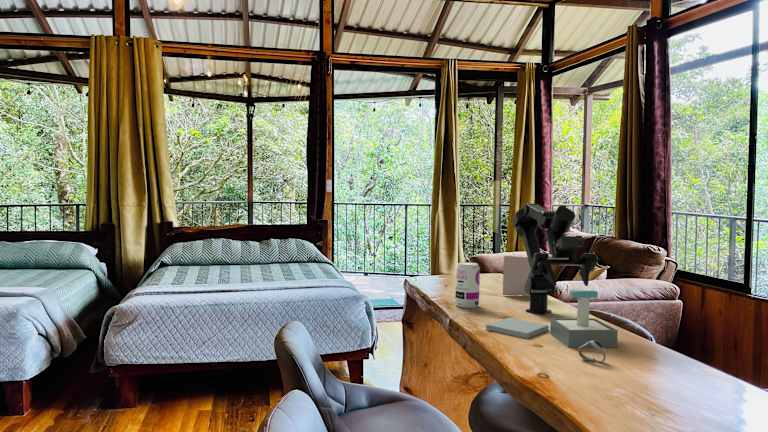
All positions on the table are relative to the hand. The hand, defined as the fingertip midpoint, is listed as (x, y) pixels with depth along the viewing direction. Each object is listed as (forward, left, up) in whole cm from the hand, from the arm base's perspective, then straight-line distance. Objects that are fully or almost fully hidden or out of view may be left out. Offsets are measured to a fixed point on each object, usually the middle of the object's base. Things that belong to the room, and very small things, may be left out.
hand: (571, 285), depth 153 cm
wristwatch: (+22, +15, -14) cm, 30 cm away
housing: (+6, +6, -14) cm, 16 cm away
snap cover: (+6, +6, -11) cm, 13 cm away
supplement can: (-8, -41, -14) cm, 44 cm away
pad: (+9, -12, -14) cm, 20 cm away
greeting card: (-38, -39, -14) cm, 57 cm away
